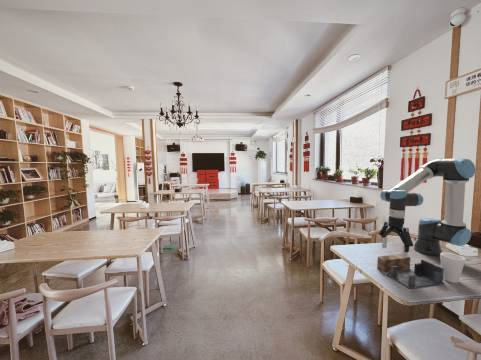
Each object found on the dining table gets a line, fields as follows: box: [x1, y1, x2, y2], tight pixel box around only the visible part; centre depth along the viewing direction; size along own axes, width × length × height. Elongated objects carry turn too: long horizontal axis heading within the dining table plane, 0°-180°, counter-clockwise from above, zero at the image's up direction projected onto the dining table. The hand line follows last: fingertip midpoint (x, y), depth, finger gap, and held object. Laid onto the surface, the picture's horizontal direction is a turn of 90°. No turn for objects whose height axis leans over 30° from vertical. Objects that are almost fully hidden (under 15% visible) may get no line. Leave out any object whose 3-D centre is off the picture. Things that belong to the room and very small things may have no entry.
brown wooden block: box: [376, 253, 411, 273], centre depth 131 cm, size 18×5×7 cm, turn 103°
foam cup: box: [439, 252, 466, 284], centre depth 118 cm, size 10×9×13 cm
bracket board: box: [386, 259, 446, 290], centre depth 118 cm, size 22×13×8 cm, turn 102°
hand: (393, 252), depth 130 cm, fingers open, 13 cm apart
